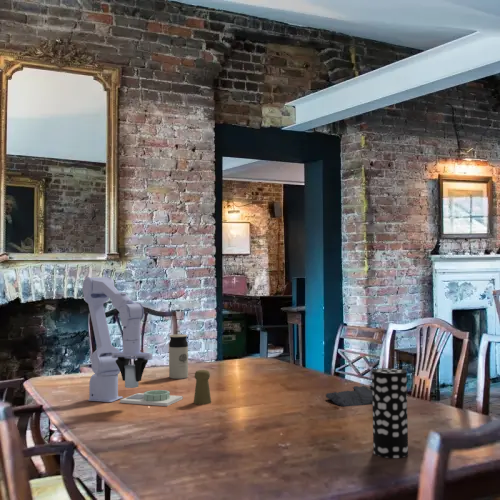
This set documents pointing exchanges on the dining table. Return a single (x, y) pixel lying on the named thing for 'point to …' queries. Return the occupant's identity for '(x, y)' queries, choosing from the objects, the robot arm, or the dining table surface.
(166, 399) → the white base plate
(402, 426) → the white-spotted black cylinder
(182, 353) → the travel mug
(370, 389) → the dark slate chunk
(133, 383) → the tube
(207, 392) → the cork
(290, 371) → the dining table surface
